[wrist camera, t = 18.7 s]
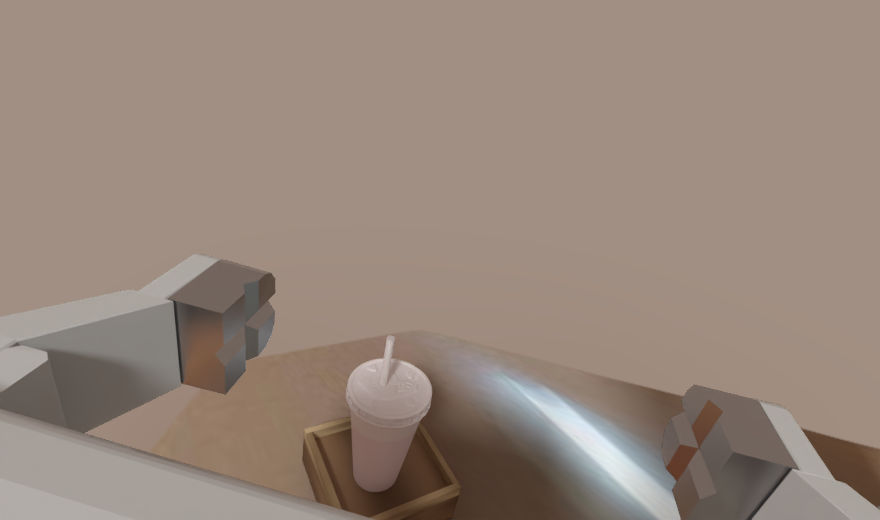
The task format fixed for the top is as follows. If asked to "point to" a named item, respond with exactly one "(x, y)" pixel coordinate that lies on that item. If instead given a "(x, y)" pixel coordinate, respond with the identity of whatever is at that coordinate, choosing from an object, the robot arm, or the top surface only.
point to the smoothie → (384, 416)
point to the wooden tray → (396, 509)
